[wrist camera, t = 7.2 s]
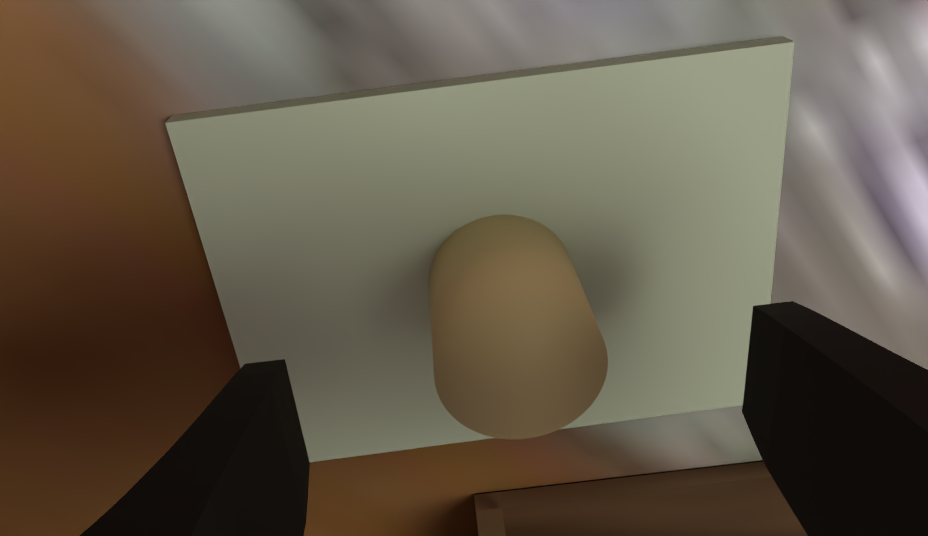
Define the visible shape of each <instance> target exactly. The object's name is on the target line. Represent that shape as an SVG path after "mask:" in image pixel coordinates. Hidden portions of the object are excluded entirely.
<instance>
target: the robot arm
mask: <svg viewBox="0 0 928 536" xmlns="http://www.w3.org/2000/svg"><path fill="white" fill-rule="evenodd" d="M742 413H743V415H744V417H745V420H746V422H747V425H748V427H749V429H750V432H751V434H752V436H753V439H754V441H755V444H756V446H757V448H758V450H759V452H760V455H761V457H762V459H763V461H764V463H765V465H766V468H767V469H768V471H769V473H770V474H771V476H772V478H773V480H774V481H775V483H776V485H777V486H778V488H779V489H780V491H781V493H782V494H783V496H784V498H785V499H786V501H787V503H788V504H789V506H790V508H791V509H792V511H793V513H794V514H795V516H796V517H797V519H798V521H799V522H800V524H801V525H802V527H803V529H804V530H805V532H806V534H807V535H808V536H928V370H927V369H925V368H923V367H921V366H919V365H917V364H915V363H913V362H911V361H909V360H907V359H905V358H903V357H901V356H899V355H897V354H895V353H893V352H891V351H889V350H887V349H886V348H884V347H882V346H880V345H878V344H876V343H874V342H872V341H870V340H868V339H867V338H865V337H863V336H861V335H859V334H857V333H855V332H853V331H851V330H850V329H848V328H846V327H844V326H842V325H840V324H838V323H836V322H834V321H832V320H830V319H828V318H827V317H825V316H823V315H821V314H819V313H817V312H815V311H813V310H811V309H808V308H806V307H804V306H802V305H800V304H797V303H795V302H793V301H791V302H782V303H774V304H765V305H756V306H753V312H752V321H751V331H750V341H749V350H748V360H747V370H746V379H745V389H744V399H743V409H742ZM309 464H310V462H309V458H308V454H307V449H306V445H305V441H304V437H303V433H302V429H301V424H300V420H299V416H298V412H297V408H296V404H295V399H294V395H293V391H292V387H291V383H290V379H289V374H288V370H287V366H286V362H285V359H282V360H273V361H264V362H255V363H246V364H244V365H243V366H242V367H241V368H240V370H239V371H238V372H237V373H236V374H235V375H234V376H233V378H232V379H231V380H230V381H229V382H228V383H227V385H226V386H225V387H224V388H223V389H222V390H221V392H220V393H219V394H218V395H217V396H216V397H215V399H214V400H213V401H212V402H211V403H210V404H209V406H208V407H207V408H206V409H205V410H204V411H203V412H202V414H201V415H200V416H199V417H198V418H197V419H196V421H195V422H194V423H193V424H192V425H191V426H190V427H189V428H188V430H187V431H186V432H185V433H184V434H183V435H182V436H181V437H180V439H179V440H178V441H177V442H176V443H175V444H174V445H173V446H172V447H171V449H170V450H169V451H168V452H167V453H166V454H165V455H164V456H163V457H162V458H161V459H160V460H159V461H158V462H157V463H156V464H155V465H154V466H153V467H152V468H151V469H150V470H149V471H148V472H147V473H146V474H145V475H144V476H143V477H142V478H141V479H140V480H139V481H138V482H137V483H136V484H135V485H134V486H133V487H132V488H131V489H130V490H129V491H128V492H127V493H126V494H125V495H124V496H123V497H122V498H121V499H120V500H119V501H118V502H117V503H116V504H115V505H114V506H113V507H112V508H110V509H109V510H108V511H107V512H106V513H105V514H104V515H103V516H102V517H100V518H99V519H98V520H97V521H96V522H95V523H94V524H93V525H91V526H90V527H89V528H88V529H87V530H86V531H84V532H83V533H82V534H81V535H80V536H303V535H304V529H305V524H306V513H307V499H308V482H309Z"/></svg>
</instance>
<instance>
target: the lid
mask: <svg viewBox="0 0 928 536" xmlns="http://www.w3.org/2000/svg"><path fill="white" fill-rule="evenodd" d="M793 52H794V41H792V40H790V39H788V38H785V37H783V36H782V37H775V38H767V39H759V40H751V41H744V42H736V43H728V44H721V45H713V46H705V47H697V48H690V49H682V50H674V51H666V52H659V53H651V54H643V55H635V56H628V57H620V58H612V59H604V60H597V61H589V62H581V63H573V64H566V65H558V66H550V67H542V68H535V69H527V70H519V71H511V72H504V73H496V74H488V75H481V76H473V77H465V78H457V79H450V80H442V81H434V82H426V83H419V84H411V85H403V86H395V87H388V88H380V89H372V90H364V91H357V92H349V93H341V94H333V95H326V96H318V97H310V98H302V99H295V100H287V101H279V102H271V103H264V104H256V105H248V106H240V107H233V108H225V109H217V110H210V111H202V112H194V113H186V114H179V115H172V116H171V117H170V118H169V119H168V120H167V122H166V123H165V124H166V127H167V130H168V134H169V137H170V140H171V143H172V147H173V150H174V153H175V156H176V160H177V163H178V166H179V169H180V173H181V176H182V179H183V182H184V186H185V189H186V192H187V196H188V199H189V202H190V205H191V209H192V212H193V215H194V218H195V222H196V225H197V228H198V231H199V235H200V238H201V241H202V244H203V248H204V251H205V254H206V257H207V261H208V264H209V267H210V271H211V274H212V277H213V280H214V284H215V287H216V290H217V293H218V297H219V300H220V303H221V306H222V310H223V313H224V316H225V319H226V323H227V326H228V329H229V332H230V336H231V339H232V342H233V346H234V349H235V352H236V355H237V359H238V362H239V365H240V368H241V367H242V366H243V365H244V364H246V363H255V362H264V361H273V360H282V359H285V362H286V366H287V370H288V374H289V379H290V383H291V387H292V391H293V395H294V399H295V404H296V408H297V412H298V416H299V420H300V424H301V429H302V433H303V437H304V441H305V445H306V449H307V454H308V458H309V462H316V461H323V460H331V459H339V458H346V457H354V456H361V455H369V454H376V453H384V452H392V451H399V450H407V449H414V448H422V447H429V446H437V445H445V444H452V443H460V442H467V441H475V440H482V439H490V438H500V439H528V438H534V437H539V436H542V435H546V434H549V433H552V432H554V431H556V430H559V429H566V428H573V427H581V426H588V425H596V424H604V423H611V422H619V421H626V420H634V419H642V418H649V417H657V416H664V415H672V414H679V413H687V412H695V411H702V410H710V409H717V408H725V407H732V406H740V405H743V399H744V389H745V379H746V370H747V360H748V350H749V341H750V331H751V321H752V312H753V306H756V305H765V304H770V302H771V291H772V280H773V270H774V259H775V248H776V237H777V226H778V215H779V204H780V194H781V183H782V172H783V161H784V150H785V139H786V128H787V118H788V107H789V96H790V85H791V74H792V63H793Z"/></svg>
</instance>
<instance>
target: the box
mask: <svg viewBox="0 0 928 536" xmlns="http://www.w3.org/2000/svg"><path fill="white" fill-rule="evenodd" d="M474 500H475V509H476V518H477V527H478V536H808V535H807V534H806V532H805V530H804V529H803V527H802V525H801V524H800V522H799V521H798V519H797V517H796V516H795V514H794V513H793V511H792V509H791V508H790V506H789V504H788V503H787V501H786V499H785V498H784V496H783V494H782V493H781V491H780V489H779V488H778V486H777V485H776V483H775V481H774V480H773V478H772V476H771V474H770V473H769V471H768V469H767V468H766V465H765V463H764V461H762V462H753V463H745V464H736V465H727V466H719V467H710V468H702V469H693V470H684V471H676V472H667V473H658V474H650V475H641V476H633V477H624V478H615V479H607V480H598V481H589V482H581V483H572V484H564V485H555V486H546V487H538V488H529V489H520V490H512V491H503V492H495V493H486V494H477V495H474Z"/></svg>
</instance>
